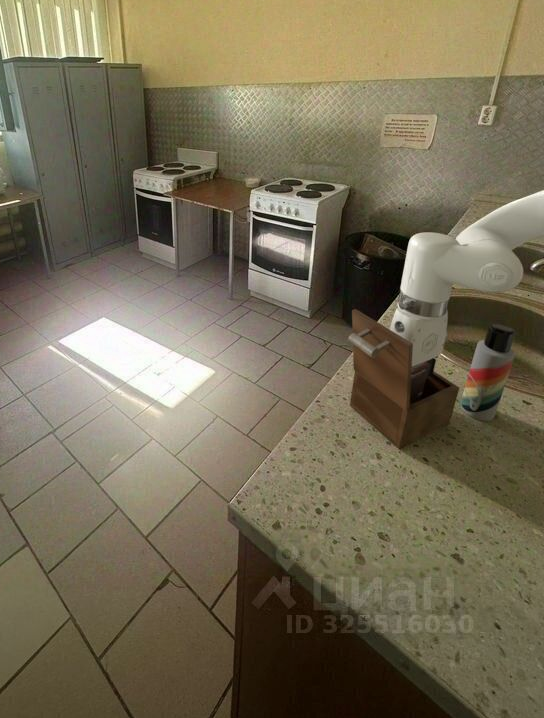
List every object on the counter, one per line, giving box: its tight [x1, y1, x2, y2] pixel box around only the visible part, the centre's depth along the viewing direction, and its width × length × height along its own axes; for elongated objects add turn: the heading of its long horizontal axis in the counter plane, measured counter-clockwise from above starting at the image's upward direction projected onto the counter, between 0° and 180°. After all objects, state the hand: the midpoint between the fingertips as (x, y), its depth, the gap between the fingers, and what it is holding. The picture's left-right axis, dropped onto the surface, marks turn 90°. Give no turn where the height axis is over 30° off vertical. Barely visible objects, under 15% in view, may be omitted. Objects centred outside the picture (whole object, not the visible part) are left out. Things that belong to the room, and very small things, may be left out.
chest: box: [349, 370, 460, 450], centre depth 77 cm, size 14×12×9 cm
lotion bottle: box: [460, 322, 516, 422], centre depth 76 cm, size 6×6×20 cm
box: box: [410, 361, 430, 405], centre depth 77 cm, size 6×4×12 cm
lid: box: [347, 308, 413, 410], centre depth 70 cm, size 15×12×5 cm
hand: (406, 379), depth 76 cm, fingers open, 9 cm apart
